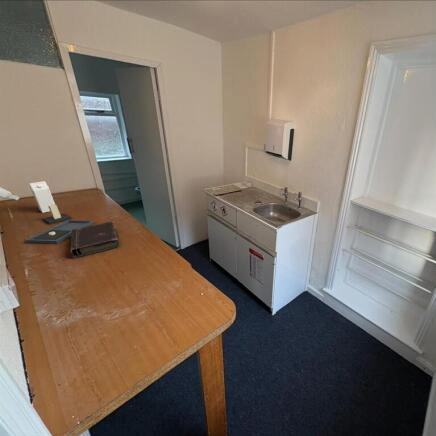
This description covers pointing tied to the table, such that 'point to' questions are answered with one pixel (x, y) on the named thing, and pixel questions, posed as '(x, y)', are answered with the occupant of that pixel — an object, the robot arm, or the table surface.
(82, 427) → the table surface
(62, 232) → the pad
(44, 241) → the grey shallow rectangular tray
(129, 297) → the table surface
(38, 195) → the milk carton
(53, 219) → the loose pad
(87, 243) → the diary
